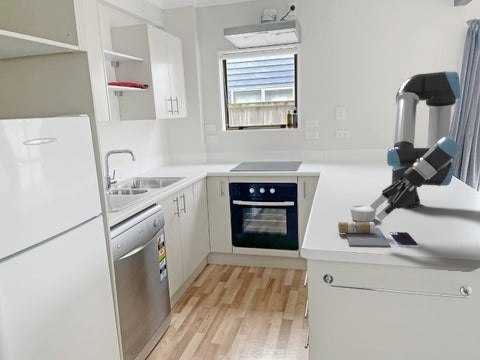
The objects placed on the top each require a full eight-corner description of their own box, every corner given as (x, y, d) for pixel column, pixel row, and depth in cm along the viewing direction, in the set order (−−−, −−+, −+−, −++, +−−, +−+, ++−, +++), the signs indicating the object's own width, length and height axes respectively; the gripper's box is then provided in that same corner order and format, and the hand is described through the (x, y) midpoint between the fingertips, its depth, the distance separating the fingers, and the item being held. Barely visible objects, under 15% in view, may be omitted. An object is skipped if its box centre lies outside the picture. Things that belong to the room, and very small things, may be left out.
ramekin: (362, 214, 167) (362, 203, 166) (381, 220, 157) (382, 208, 156) (344, 218, 162) (344, 207, 161) (363, 224, 152) (363, 212, 151)
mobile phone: (397, 245, 126) (387, 231, 140) (397, 247, 126) (387, 233, 140) (420, 245, 124) (408, 231, 139) (420, 248, 125) (408, 234, 139)
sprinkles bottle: (338, 222, 139) (375, 222, 136) (338, 221, 143) (373, 221, 141) (339, 234, 139) (375, 234, 136) (338, 233, 143) (373, 233, 140)
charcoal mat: (343, 228, 148) (343, 227, 148) (378, 229, 145) (378, 227, 145) (349, 246, 128) (349, 244, 128) (390, 247, 126) (390, 245, 126)
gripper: (402, 161, 141) (362, 197, 147) (422, 172, 117) (373, 215, 123) (416, 174, 141) (376, 210, 147) (438, 187, 117) (389, 230, 123)
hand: (374, 212), depth 135 cm, fingers open, 13 cm apart
